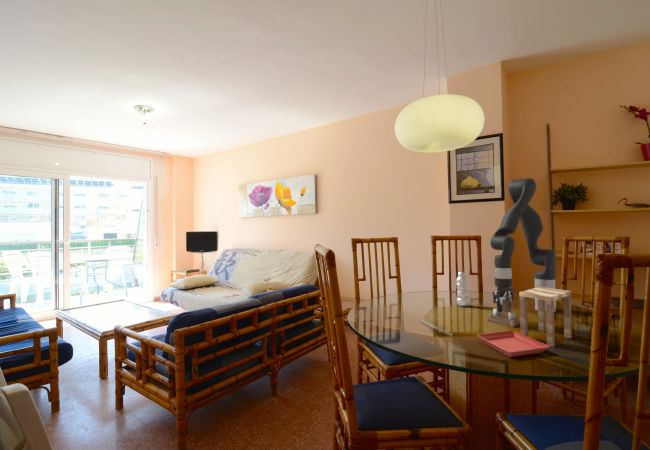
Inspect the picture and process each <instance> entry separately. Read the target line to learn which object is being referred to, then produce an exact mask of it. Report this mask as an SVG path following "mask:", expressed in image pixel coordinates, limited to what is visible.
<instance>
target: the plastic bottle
mask: <svg viewBox="0 0 650 450" xmlns="http://www.w3.org/2000/svg"><path fill="white" fill-rule="evenodd" d="M455 284H456V285H455V286H456V290H457V291H456V293H457V294H456V304H457V306H460V307H468V306H469V304H470V300H469V296H468V285H469V280H468V278H467V277H466V271H463V270H462V271H461V270H460V271H458V273H457V277H456V279H455Z"/></svg>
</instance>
